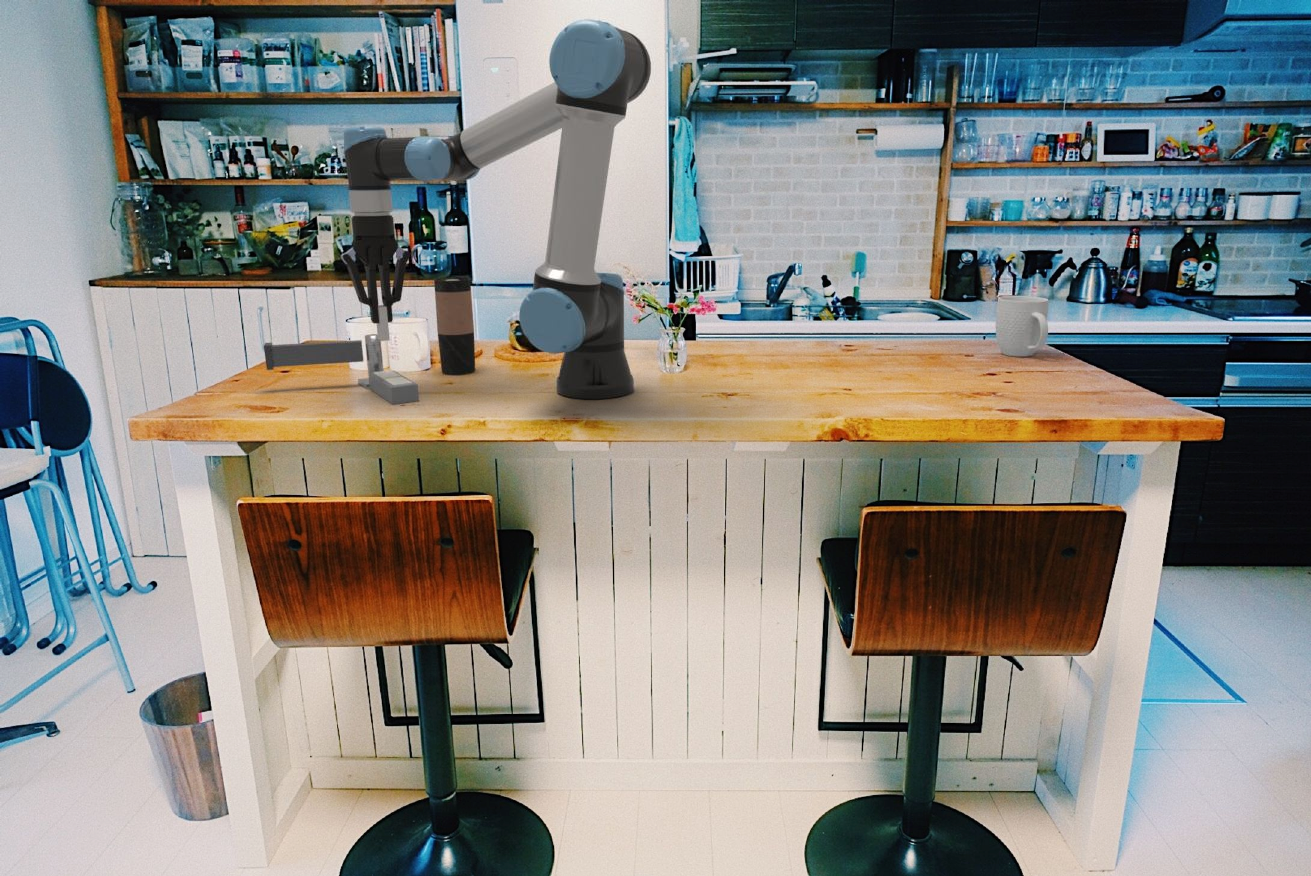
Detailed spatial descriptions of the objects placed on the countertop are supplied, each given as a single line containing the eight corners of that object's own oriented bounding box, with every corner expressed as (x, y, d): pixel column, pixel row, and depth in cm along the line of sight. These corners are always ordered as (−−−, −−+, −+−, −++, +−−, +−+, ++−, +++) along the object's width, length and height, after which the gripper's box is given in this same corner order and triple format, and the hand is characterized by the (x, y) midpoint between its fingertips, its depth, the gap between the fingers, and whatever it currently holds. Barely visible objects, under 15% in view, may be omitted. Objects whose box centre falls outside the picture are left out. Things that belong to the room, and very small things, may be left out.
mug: (1063, 361, 201) (1070, 303, 197) (1020, 363, 198) (1027, 304, 195) (1023, 349, 215) (1029, 294, 211) (982, 351, 212) (988, 296, 209)
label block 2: (380, 396, 171) (378, 378, 170) (405, 392, 174) (404, 375, 173) (392, 404, 165) (390, 386, 164) (418, 401, 167) (417, 382, 166)
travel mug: (468, 376, 189) (461, 281, 183) (434, 374, 190) (427, 280, 184) (481, 368, 196) (476, 277, 190) (449, 367, 197) (443, 276, 192)
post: (358, 383, 182) (353, 334, 180) (387, 379, 186) (383, 332, 183) (366, 388, 178) (361, 339, 175) (396, 384, 181) (391, 336, 178)
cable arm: (363, 361, 181) (361, 337, 180) (363, 364, 178) (361, 340, 177) (268, 366, 176) (265, 342, 175) (266, 370, 173) (263, 345, 172)
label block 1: (370, 389, 177) (368, 372, 176) (395, 386, 180) (393, 369, 179) (381, 397, 171) (380, 379, 170) (407, 393, 173) (405, 376, 172)
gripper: (400, 212, 172) (410, 333, 179) (331, 214, 165) (344, 340, 172) (412, 214, 166) (422, 339, 172) (341, 216, 159) (354, 346, 166)
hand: (383, 339), depth 172 cm, fingers closed
